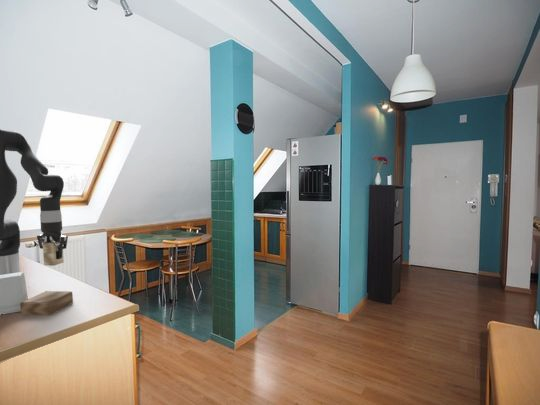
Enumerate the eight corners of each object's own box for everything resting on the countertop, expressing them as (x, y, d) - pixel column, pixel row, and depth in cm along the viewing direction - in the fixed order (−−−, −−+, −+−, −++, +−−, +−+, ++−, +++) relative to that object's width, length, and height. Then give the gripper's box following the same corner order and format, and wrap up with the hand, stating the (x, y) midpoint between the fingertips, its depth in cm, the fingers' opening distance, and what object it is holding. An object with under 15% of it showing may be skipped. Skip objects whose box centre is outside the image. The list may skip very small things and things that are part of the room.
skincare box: (29, 305, 123) (25, 270, 122) (24, 311, 118) (21, 275, 116) (3, 309, 119) (-1, 274, 118) (-3, 316, 114) (-7, 278, 113)
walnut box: (21, 315, 115) (19, 302, 114) (46, 302, 127) (45, 290, 126) (49, 316, 114) (48, 303, 113) (73, 302, 126) (72, 291, 125)
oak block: (43, 265, 129) (42, 242, 128) (54, 261, 134) (52, 240, 133) (53, 265, 128) (52, 243, 127) (63, 262, 133) (62, 240, 132)
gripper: (29, 221, 127) (31, 260, 128) (57, 222, 124) (60, 261, 126) (45, 218, 134) (47, 255, 136) (72, 219, 131) (74, 257, 133)
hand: (53, 258), depth 131 cm, fingers closed on oak block, 5 cm apart
